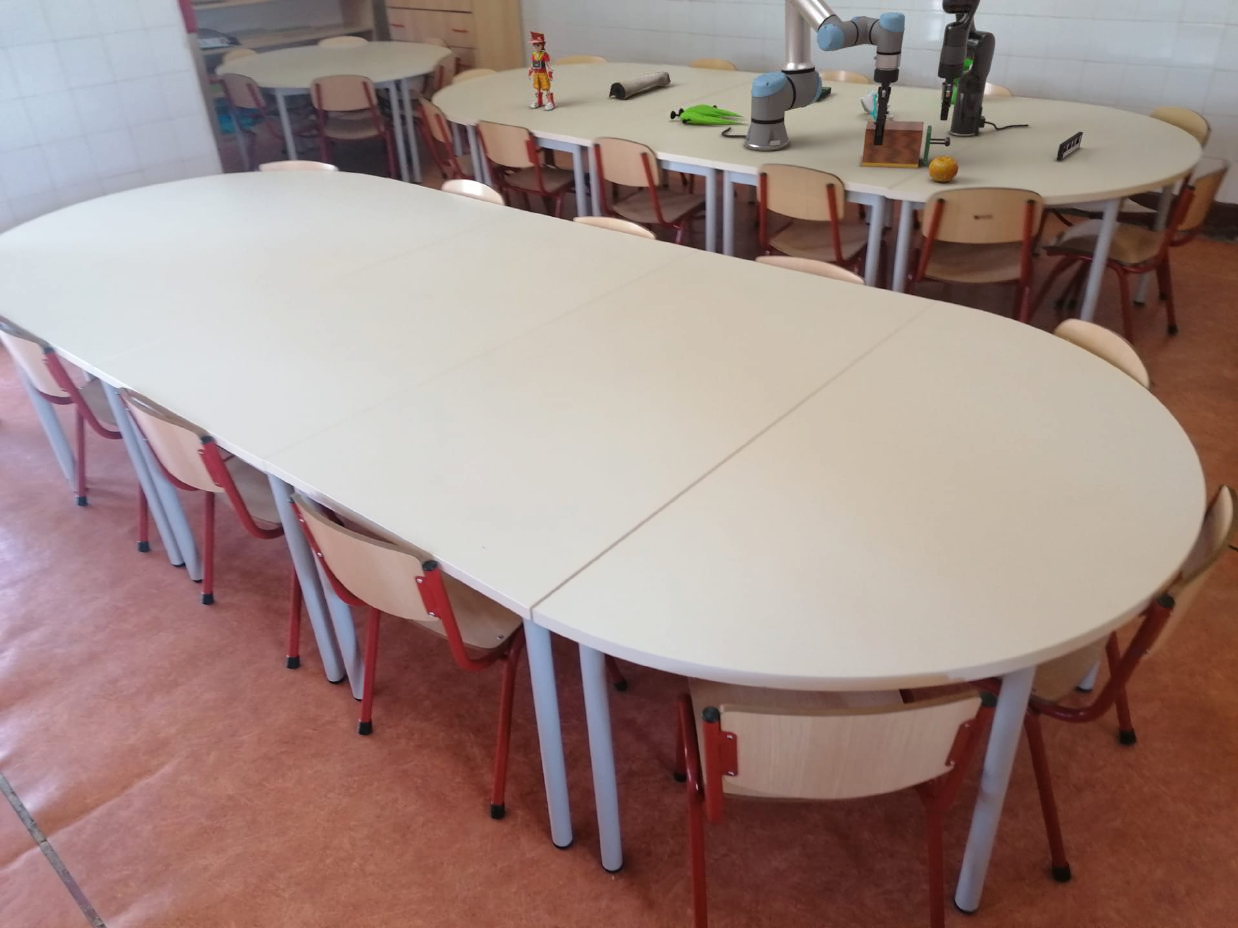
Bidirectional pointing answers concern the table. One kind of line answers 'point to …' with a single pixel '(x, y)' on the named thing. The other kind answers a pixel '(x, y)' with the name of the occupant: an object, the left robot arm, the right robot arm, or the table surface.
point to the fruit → (943, 169)
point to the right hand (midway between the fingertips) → (943, 118)
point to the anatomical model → (872, 105)
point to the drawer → (927, 144)
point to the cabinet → (893, 144)
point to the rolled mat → (638, 84)
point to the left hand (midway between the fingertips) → (879, 140)
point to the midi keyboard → (1069, 145)
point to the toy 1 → (541, 71)
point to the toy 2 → (704, 115)
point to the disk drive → (824, 92)
